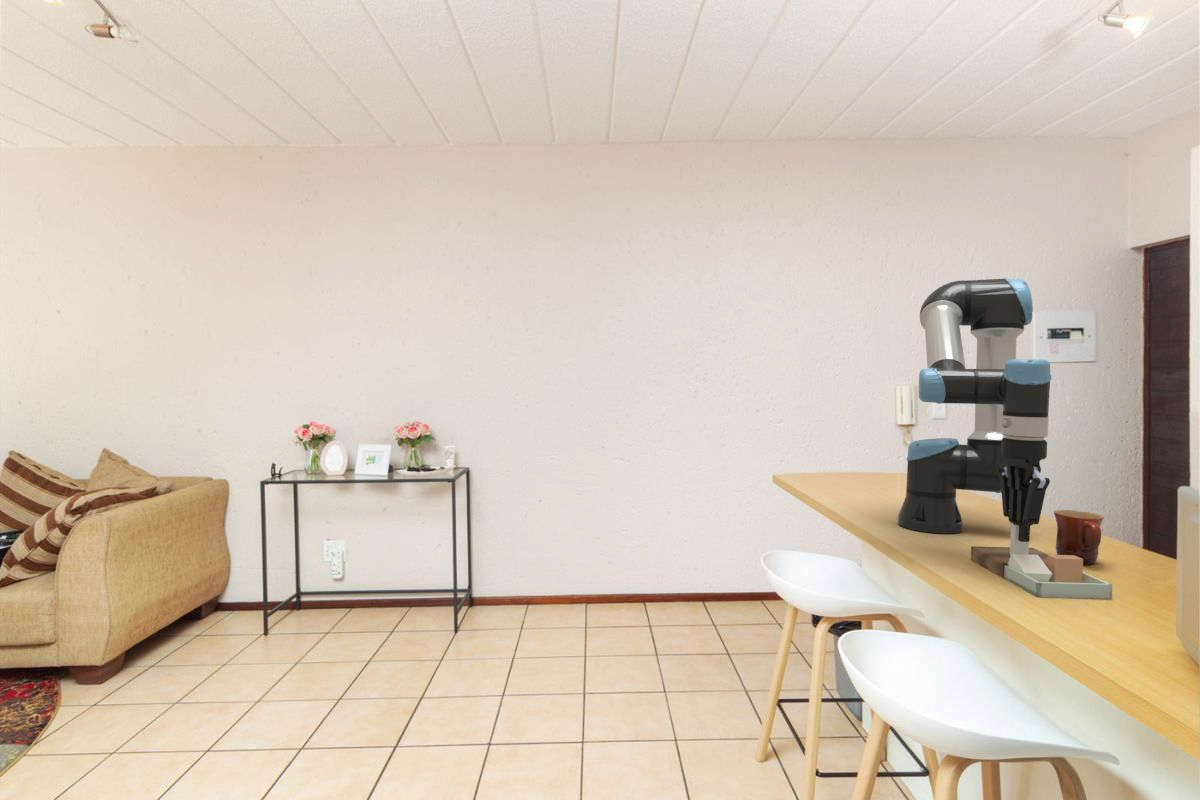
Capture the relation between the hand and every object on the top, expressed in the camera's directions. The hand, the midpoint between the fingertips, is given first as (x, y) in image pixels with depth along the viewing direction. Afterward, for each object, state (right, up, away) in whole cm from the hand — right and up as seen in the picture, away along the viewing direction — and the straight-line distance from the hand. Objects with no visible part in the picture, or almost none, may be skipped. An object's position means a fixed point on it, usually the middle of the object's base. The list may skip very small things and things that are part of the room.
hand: (1018, 556), depth 126 cm
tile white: (0, -3, -2) cm, 4 cm away
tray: (+3, -5, -6) cm, 8 cm away
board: (+4, -4, +6) cm, 8 cm away
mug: (+20, -4, +11) cm, 24 cm away
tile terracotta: (+6, -1, -3) cm, 7 cm away
